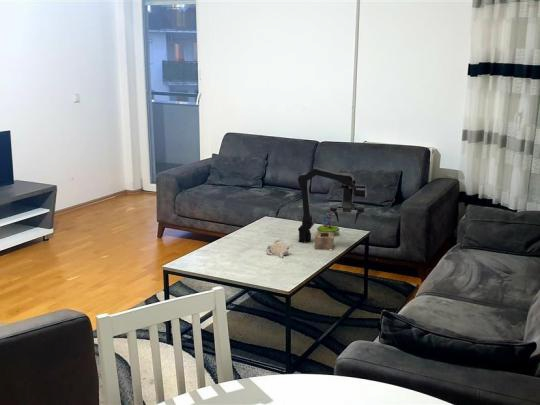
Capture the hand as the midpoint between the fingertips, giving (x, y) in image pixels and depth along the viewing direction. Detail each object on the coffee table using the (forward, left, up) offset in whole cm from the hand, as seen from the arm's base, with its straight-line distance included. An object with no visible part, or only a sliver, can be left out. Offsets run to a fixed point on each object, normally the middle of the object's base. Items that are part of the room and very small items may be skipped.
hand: (346, 223), depth 345 cm
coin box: (-12, -5, -13) cm, 18 cm away
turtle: (-36, -21, -13) cm, 44 cm away
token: (-12, -5, -13) cm, 18 cm away
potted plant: (-11, +20, -13) cm, 26 cm away
